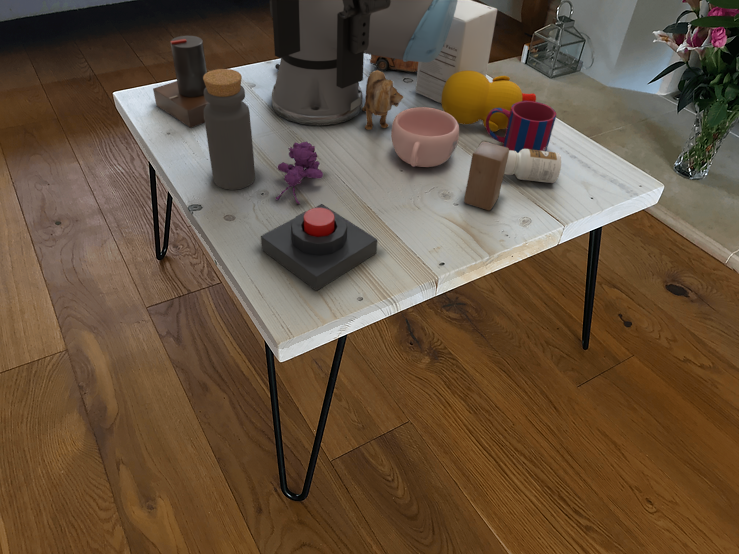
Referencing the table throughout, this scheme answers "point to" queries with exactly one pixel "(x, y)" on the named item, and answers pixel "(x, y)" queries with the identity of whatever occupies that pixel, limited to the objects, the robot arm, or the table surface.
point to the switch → (319, 222)
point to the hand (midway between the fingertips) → (317, 67)
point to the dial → (189, 65)
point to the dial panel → (180, 104)
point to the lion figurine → (379, 98)
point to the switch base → (319, 249)
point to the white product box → (459, 48)
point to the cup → (526, 126)
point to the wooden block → (486, 175)
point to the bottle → (228, 130)
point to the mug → (424, 136)
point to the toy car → (393, 64)
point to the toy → (480, 98)
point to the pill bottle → (534, 165)
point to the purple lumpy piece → (300, 166)
